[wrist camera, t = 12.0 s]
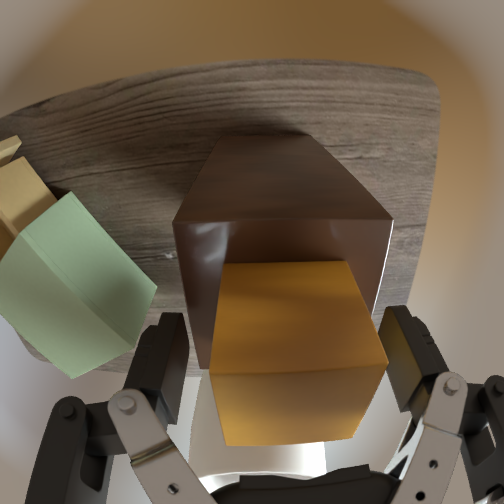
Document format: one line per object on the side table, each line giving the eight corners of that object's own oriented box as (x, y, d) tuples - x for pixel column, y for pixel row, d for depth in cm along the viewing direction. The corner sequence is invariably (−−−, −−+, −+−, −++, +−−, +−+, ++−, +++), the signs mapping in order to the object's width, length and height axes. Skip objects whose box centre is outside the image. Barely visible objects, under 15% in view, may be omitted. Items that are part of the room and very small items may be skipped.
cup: (209, 258, 32) (172, 461, 14) (308, 265, 33) (353, 462, 14) (209, 329, 38) (188, 499, 19) (292, 334, 38) (311, 501, 20)
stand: (225, 218, 30) (199, 369, 15) (220, 136, 26) (171, 222, 11) (307, 216, 30) (358, 363, 15) (310, 135, 26) (394, 218, 10)
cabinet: (23, 249, 32) (-19, 293, 24) (71, 190, 28) (19, 232, 20) (97, 325, 38) (71, 379, 30) (157, 286, 34) (134, 348, 26)
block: (231, 347, 14) (225, 446, 9) (222, 262, 11) (208, 373, 7) (331, 344, 14) (352, 438, 9) (346, 260, 11) (390, 362, 7)
